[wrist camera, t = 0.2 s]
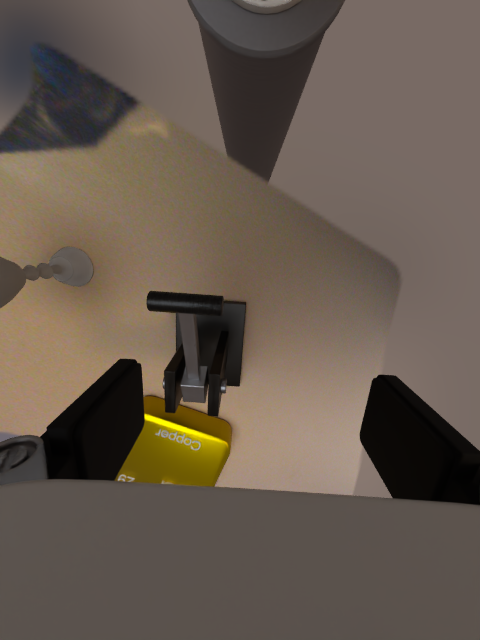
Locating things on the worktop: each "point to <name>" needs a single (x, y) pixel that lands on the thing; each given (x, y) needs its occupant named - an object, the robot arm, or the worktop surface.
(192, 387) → the lever
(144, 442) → the element tile
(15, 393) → the worktop surface
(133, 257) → the worktop surface
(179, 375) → the bracket
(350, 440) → the worktop surface
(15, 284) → the chalice
